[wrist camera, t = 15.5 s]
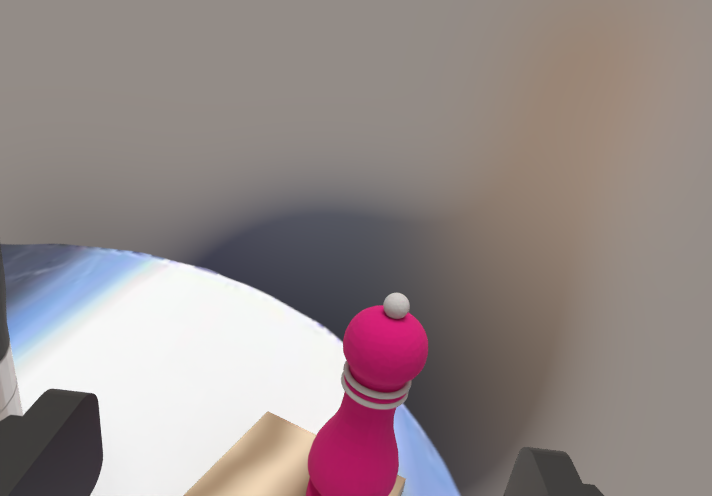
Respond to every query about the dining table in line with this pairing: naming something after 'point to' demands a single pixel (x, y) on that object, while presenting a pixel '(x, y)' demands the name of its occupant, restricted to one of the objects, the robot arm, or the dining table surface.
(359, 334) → the pepper mill
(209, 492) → the birch board
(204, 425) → the dining table surface
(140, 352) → the dining table surface
